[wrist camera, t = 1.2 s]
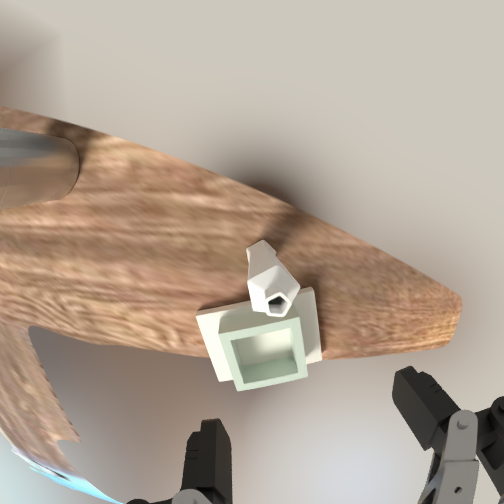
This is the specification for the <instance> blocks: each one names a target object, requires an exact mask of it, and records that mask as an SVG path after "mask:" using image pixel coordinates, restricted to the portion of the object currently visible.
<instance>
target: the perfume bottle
mask: <svg viewBox="0 0 504 504" xmlns="http://www.w3.org/2000/svg"><path fill="white" fill-rule="evenodd" d="M246 251H247V256H248V261H249V270H248V288H249V293H250V298H251V303H252V307H253V310H254V311H258V312H266V314H267V315H268V316H276V317H284V316H285V315H286V314H287V312H288V310H289V308H290V307H291V305H292V302H293V300H294V298H295V296H296V295H297V293H298V291H299V289H300V285H299V283H298V282H297V281H296V280H295V279H294V277H293V276H292V275H291V274H290V273H289V271H288V270H287V269H286V268H285V267H284V265H283V264H282V263H281V262H280V261H279V259H278V258H277V257H276V251H275V250H274V249H273V248H272V247H271V246H270V245H269V244H268V243H267V242H266V241H265V240H261V241H259V242H257V243H255V244H253V245H251V246H250V247H248V248H247V249H246Z"/></svg>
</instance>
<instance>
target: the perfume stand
mask: <svg viewBox="0 0 504 504" xmlns="http://www.w3.org/2000/svg"><path fill="white" fill-rule="evenodd" d="M196 318H197V321H198V324H199V327H200V330H201V333H202V336H203V339H204V342H205V344H206V347H207V350H208V353H209V356H210V358H211V361H212V363H213V366H214V369H215V372H216V374H217V377H218V379H219V381H220V382H221V381H227V380H234V383H235V386H236V389H237V391H242V390H248V389H253V388H259V387H264V386H269V385H274V384H279V383H283V382H288V381H292V380H296V379H300V378H304V377H308V374H307V366H306V364H309V363H313V362H317V361H320V360H322V354H321V344H320V335H319V326H318V318H317V310H316V302H315V294H314V290H313V288H312V287H307V288H303V289H299V291H298V293H297V295H296V296H295V298H294V300H293V302H292V305H291V307H290V308H289V310H288V312H287V314H286V315H285V316H284V317H276V316H268V315H267V314H266V312H258V311H254V310H253V307H252V303H251V300H250V301H245V302H240V303H236V304H231V305H226V306H221V307H216V308H211V309H205V310H200V311H197V313H196Z"/></svg>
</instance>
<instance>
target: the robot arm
mask: <svg viewBox="0 0 504 504" xmlns="http://www.w3.org/2000/svg"><path fill="white" fill-rule="evenodd" d="M78 172H79V156H78V152H77V150H76V148H75V146H74V145H73V143H72V142H71V141H69V140H68V139H65V138H60V137H55V136H50V135H45V134H39V133H33V132H26V131H20V130H13V129H5V128H0V210H5V209H9V208H14V207H19V206H24V205H29V204H35V203H41V202H47V201H52V200H58V199H61V198H63V197H64V196H66V195H67V194H68V193H69V192H70V191H71V190H72V188H73V186H74V184H75V182H76V180H77V176H78ZM392 398H393V401H394V404H395V405H396V407H397V408H398V410H399V411H400V413H401V415H402V416H403V418H404V419H405V421H406V422H407V424H408V426H409V427H410V429H411V430H412V432H413V433H414V435H415V437H416V438H417V440H418V441H419V443H420V444H421V446H422V448H423V449H424V451H426V450H427V449H429V448H431V447H432V448H433V449H434V453H433V457H432V461H431V466H430V470H429V473H428V477H427V481H426V484H425V487H424V490H423V492H422V493H421V496H420V498H419V501H418V503H417V504H472V503H473V499H474V494H475V489H476V483H477V477H478V471H479V461H478V460H476V459H475V455H477V456H478V458H479V459H480V461H481V463H482V464H483V466H484V468H485V470H486V471H487V473H488V475H489V476H490V478H491V480H492V482H493V484H494V485H495V487H496V489H497V491H498V492H499V495H500V496H501V498H500V500H499V502H498V504H504V396H502V397H499V398H497V399H496V400H495V401H494V402H493V404H492V405H491V407H490V408H487V409H484V410H482V411H479V412H475V413H473V412H472V411H469V410H461V409H460V408H459V407H458V406H457V405H456V404H455V402H454V401H453V400H452V399H451V398H450V397H449V395H448V394H447V393H446V392H445V391H444V390H442V388H441V386H440V385H439V384H437V382H436V381H435V379H434V378H433V377H432V376H431V375H429V374H427V373H424V372H423V371H422V372H420V373H417V371H416V370H415V369H414V368H413V367H412V366H408V367H406V368H404V369H401V370H399V371H397V372H396V373H395V377H394V385H393V391H392ZM231 461H232V456H231V442H230V438H229V436H228V434H227V432H226V430H225V428H224V426H223V424H222V422H221V420H220V419H218V418H217V419H209V420H202V423H201V431H199V432H193V433H192V434H191V436H190V437H189V439H188V441H187V447H186V455H185V462H184V470H183V478H182V486H181V489H180V491H179V492H178V493H177V494H176V495H175V496H174V497H173V498H171V499H168V500H165V501H160V502H154V503H149V502H147V501H145V500H143V499H134V500H131V501H129V502H128V503H127V504H232V462H231Z"/></svg>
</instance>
